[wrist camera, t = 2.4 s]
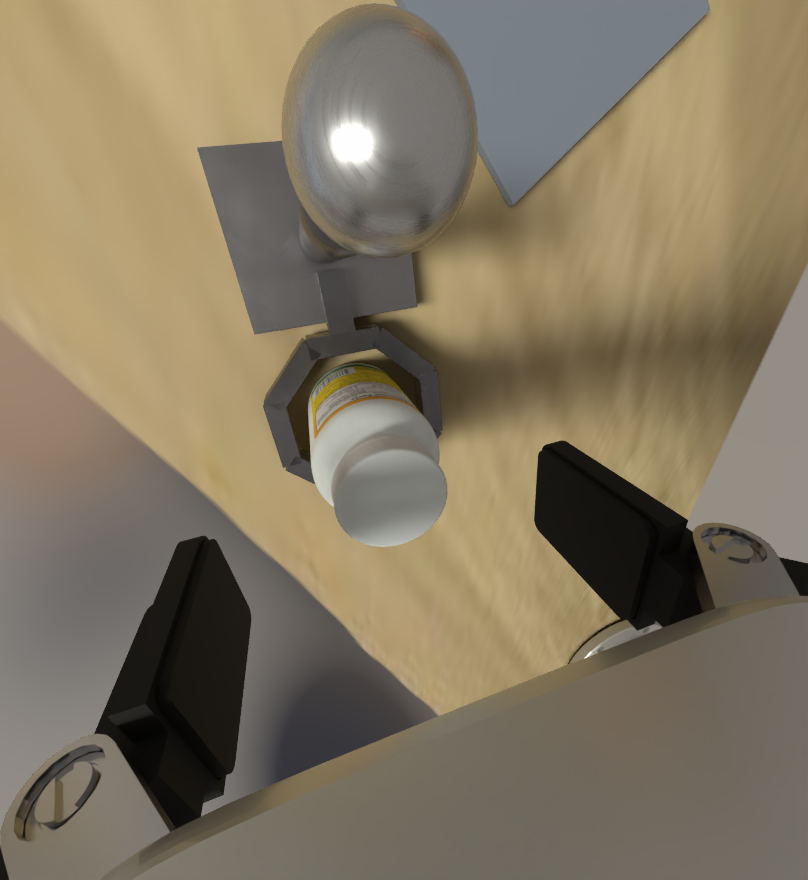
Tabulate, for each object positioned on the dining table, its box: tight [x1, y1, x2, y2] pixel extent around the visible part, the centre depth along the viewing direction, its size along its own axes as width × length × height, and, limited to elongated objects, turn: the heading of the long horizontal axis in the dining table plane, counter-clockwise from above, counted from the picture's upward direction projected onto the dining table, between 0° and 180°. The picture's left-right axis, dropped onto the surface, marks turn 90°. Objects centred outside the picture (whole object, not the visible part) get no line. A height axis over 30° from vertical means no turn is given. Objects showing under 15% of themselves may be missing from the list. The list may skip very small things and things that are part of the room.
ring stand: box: [197, 4, 478, 484], centre depth 12 cm, size 16×9×15 cm, turn 8°
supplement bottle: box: [308, 363, 447, 547], centre depth 16 cm, size 5×5×10 cm
